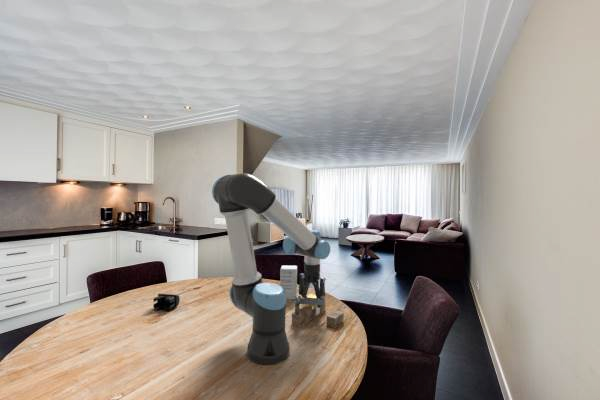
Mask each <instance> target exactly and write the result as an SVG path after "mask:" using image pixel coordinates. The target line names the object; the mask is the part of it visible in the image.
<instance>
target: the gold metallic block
mask: <svg viewBox="0 0 600 400" xmlns="http://www.w3.org/2000/svg"><path fill="white" fill-rule="evenodd" d="M304 298H316V294H315V293H309V294H307V295H306V296H305V297H304ZM300 305H301V306H300V308H307V309H310V310H313V309H315V305H308V304H300Z"/></svg>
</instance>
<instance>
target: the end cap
mask: <svg viewBox="0 0 600 400" xmlns="http://www.w3.org/2000/svg"><path fill="white" fill-rule="evenodd" d="M180 301H181V299H180V295H178V294H170V293H169V294H167V293H158V294H157V296H156V297H154V298H153V305H152V306H153V311H154V312H168V313H170V312H173V311H174V310H176V309H177V307H178V306H179V304H180Z"/></svg>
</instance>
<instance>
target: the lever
mask: <svg viewBox="0 0 600 400" xmlns="http://www.w3.org/2000/svg"><path fill="white" fill-rule="evenodd" d="M325 301H326V295H325V296H320V298H304V297H302V295H297V296H294V300H293V304H294V305H295V304H300V305H301V304H308V305H324V306H325V307H326V303H325Z"/></svg>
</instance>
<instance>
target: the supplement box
mask: <svg viewBox="0 0 600 400" xmlns="http://www.w3.org/2000/svg"><path fill="white" fill-rule="evenodd" d="M279 272H280V273H279V276H280V277H279V278H280V280H279V281H280V282H279V285H280V286H281V287H282V288H283V289H284V290H285V295H286V300H292V299H294V296H298V291H297V290H298V289H297V288H298V265H287V264H286V265H281V267H280V271H279Z"/></svg>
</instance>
